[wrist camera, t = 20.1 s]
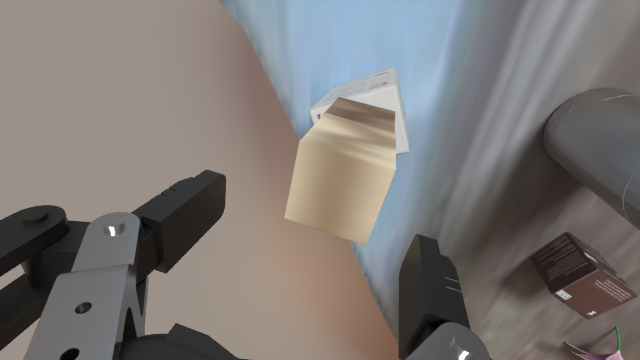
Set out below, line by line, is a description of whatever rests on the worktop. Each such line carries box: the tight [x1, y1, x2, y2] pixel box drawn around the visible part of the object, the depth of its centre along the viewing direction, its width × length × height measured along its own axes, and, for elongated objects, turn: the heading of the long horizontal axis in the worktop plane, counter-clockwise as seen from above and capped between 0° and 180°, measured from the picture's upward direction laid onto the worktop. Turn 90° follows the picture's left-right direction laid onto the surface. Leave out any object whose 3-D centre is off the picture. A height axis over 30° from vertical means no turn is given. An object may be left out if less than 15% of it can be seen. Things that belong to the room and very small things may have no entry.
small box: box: [309, 67, 410, 155], centre depth 32 cm, size 8×6×13 cm
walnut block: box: [323, 97, 395, 133], centre depth 23 cm, size 5×5×6 cm
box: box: [530, 232, 637, 319], centre depth 37 cm, size 6×6×7 cm
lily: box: [566, 327, 623, 360], centre depth 42 cm, size 11×11×9 cm
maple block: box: [285, 113, 396, 245], centre depth 18 cm, size 5×5×6 cm
